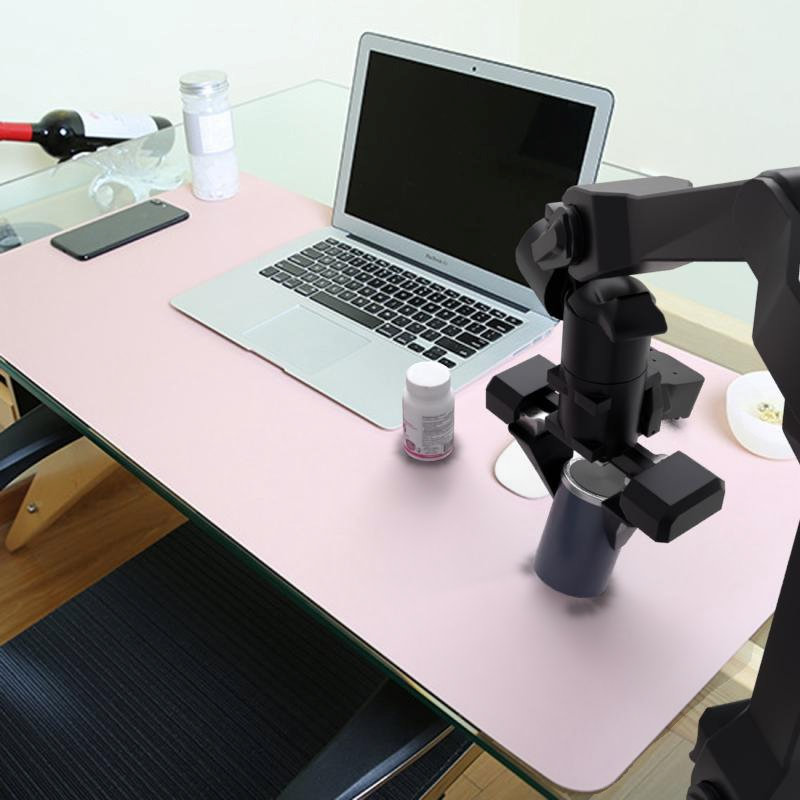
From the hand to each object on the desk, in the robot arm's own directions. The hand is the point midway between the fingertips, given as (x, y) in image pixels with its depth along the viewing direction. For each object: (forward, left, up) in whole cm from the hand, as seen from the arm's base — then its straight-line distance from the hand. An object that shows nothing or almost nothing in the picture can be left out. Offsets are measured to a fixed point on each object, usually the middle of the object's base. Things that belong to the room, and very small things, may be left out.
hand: (588, 522), depth 73 cm
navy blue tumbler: (0, +1, -5) cm, 5 cm away
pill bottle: (+20, +1, -6) cm, 21 cm away
